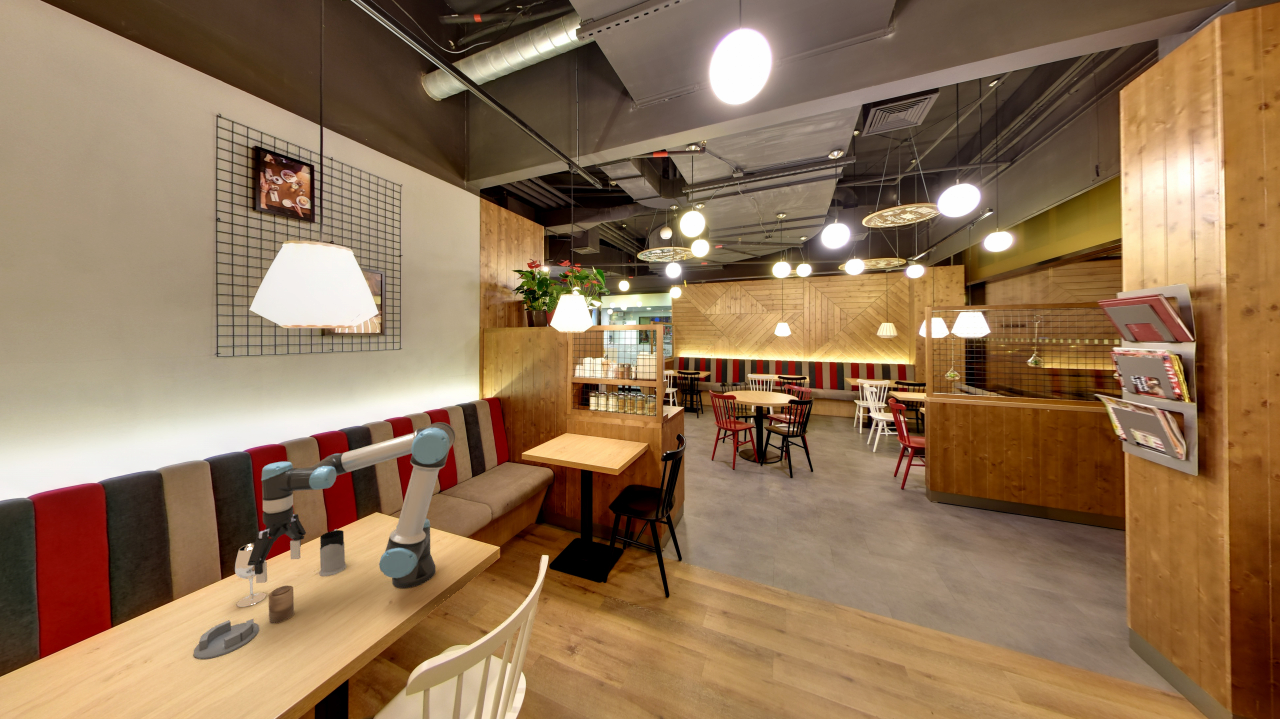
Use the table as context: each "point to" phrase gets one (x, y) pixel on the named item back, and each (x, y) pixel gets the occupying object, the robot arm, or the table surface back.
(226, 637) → the grey round base
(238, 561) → the wineglass
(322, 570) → the glass holder
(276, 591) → the stopper
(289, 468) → the robot arm
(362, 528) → the table surface
